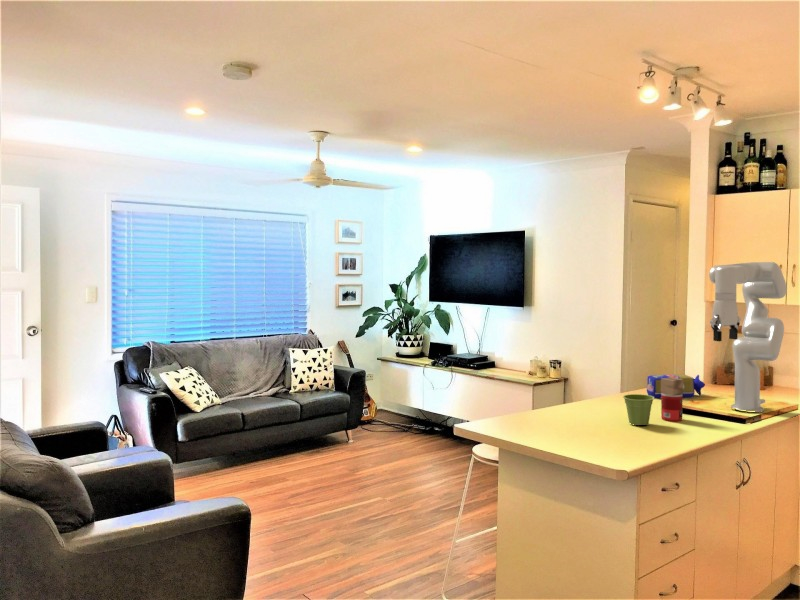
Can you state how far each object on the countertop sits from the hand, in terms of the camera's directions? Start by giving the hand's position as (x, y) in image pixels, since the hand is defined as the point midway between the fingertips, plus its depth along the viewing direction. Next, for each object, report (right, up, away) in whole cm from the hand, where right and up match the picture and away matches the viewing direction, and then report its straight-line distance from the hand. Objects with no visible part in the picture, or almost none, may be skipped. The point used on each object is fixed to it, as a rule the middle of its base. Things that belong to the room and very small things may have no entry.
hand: (725, 340), depth 252 cm
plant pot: (-34, -34, +2) cm, 48 cm away
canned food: (-18, -34, +8) cm, 39 cm away
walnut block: (-18, -22, +7) cm, 30 cm away
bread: (+2, -31, +51) cm, 59 cm away
